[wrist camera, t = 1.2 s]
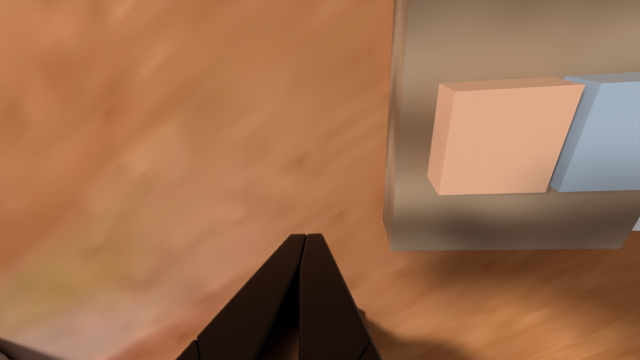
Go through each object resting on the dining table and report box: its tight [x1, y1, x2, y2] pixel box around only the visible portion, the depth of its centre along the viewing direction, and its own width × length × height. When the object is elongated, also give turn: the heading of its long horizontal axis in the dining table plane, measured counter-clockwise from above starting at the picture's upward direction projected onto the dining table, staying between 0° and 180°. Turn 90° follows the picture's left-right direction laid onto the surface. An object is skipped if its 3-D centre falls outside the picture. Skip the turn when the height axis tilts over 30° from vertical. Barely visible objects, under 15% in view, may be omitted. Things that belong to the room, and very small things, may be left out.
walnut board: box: [383, 0, 640, 251], centre depth 15 cm, size 16×14×4 cm
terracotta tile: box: [427, 77, 585, 195], centre depth 13 cm, size 5×5×2 cm
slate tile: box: [548, 72, 640, 192], centre depth 13 cm, size 5×5×2 cm
